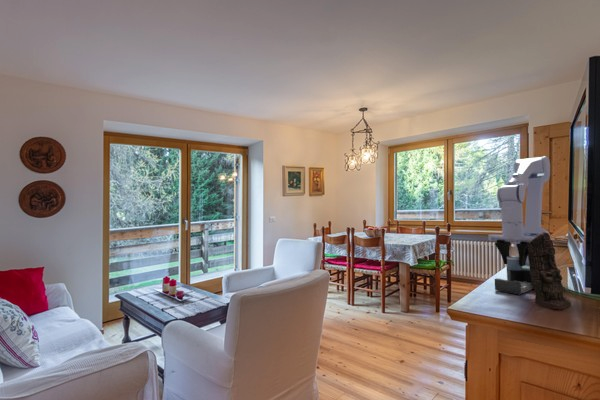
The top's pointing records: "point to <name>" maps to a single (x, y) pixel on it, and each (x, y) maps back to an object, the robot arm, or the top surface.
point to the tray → (512, 286)
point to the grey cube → (513, 263)
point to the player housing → (520, 274)
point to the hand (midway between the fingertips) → (514, 264)
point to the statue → (546, 273)
